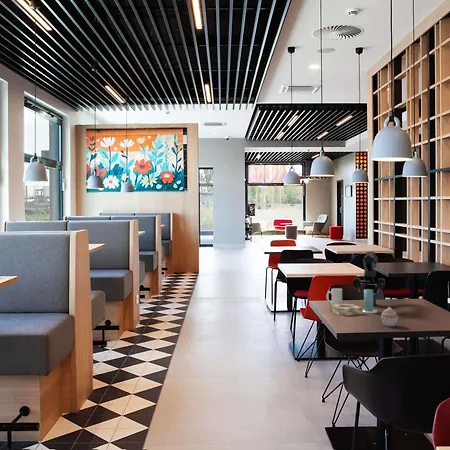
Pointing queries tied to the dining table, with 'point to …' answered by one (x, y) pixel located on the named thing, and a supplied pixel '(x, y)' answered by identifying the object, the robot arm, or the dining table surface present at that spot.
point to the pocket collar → (346, 309)
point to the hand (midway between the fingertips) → (368, 293)
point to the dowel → (368, 300)
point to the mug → (335, 296)
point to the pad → (370, 311)
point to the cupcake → (389, 317)
